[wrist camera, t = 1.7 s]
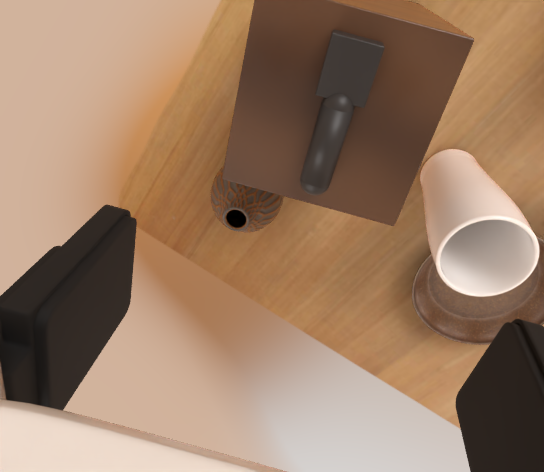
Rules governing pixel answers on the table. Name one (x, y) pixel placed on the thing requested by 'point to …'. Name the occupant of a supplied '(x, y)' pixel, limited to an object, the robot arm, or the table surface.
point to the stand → (365, 121)
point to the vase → (243, 205)
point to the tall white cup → (474, 227)
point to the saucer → (476, 305)
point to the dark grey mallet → (338, 103)
